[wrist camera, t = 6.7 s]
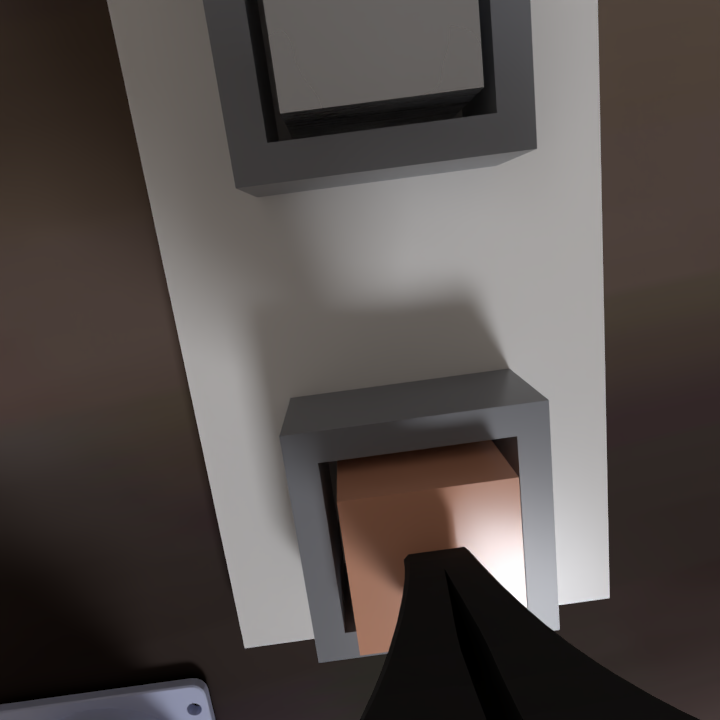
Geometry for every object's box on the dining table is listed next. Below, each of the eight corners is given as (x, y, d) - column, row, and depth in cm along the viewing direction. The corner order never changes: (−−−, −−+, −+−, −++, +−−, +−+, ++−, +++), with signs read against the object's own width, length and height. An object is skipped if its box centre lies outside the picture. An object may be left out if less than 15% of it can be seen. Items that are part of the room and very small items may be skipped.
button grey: (448, 122, 14) (484, 86, 10) (294, 143, 14) (280, 113, 10) (433, -55, 13) (468, -159, 9) (268, -34, 13) (243, -130, 9)
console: (588, 569, 19) (664, 671, 15) (252, 615, 19) (225, 732, 14) (566, -177, 14) (672, -368, 9) (101, -118, 14) (-12, -283, 9)
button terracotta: (488, 547, 16) (528, 632, 13) (355, 565, 16) (360, 655, 13) (477, 421, 15) (519, 477, 12) (337, 440, 15) (336, 502, 12)
